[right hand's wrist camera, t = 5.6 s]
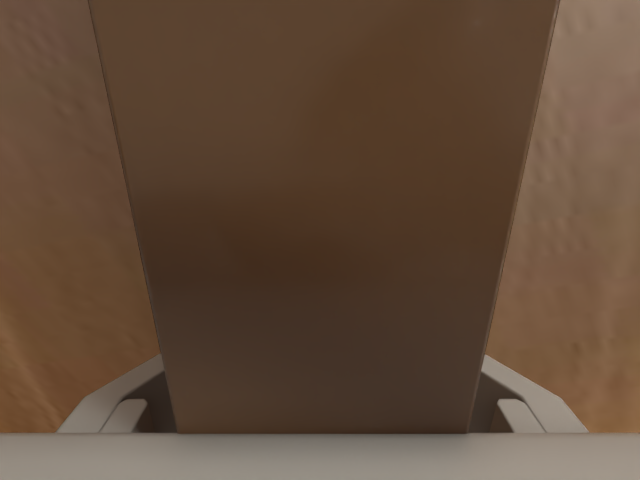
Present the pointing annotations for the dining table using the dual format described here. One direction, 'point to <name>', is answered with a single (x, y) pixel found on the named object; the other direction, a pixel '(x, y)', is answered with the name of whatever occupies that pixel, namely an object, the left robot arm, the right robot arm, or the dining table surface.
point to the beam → (323, 199)
